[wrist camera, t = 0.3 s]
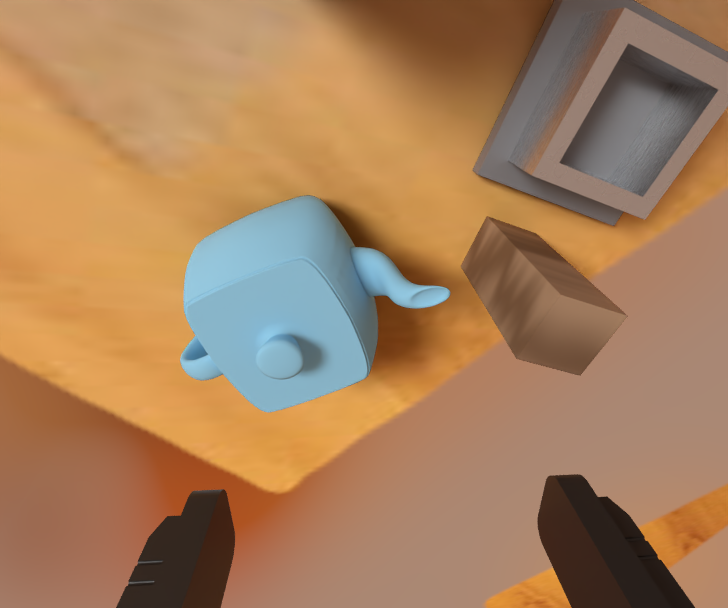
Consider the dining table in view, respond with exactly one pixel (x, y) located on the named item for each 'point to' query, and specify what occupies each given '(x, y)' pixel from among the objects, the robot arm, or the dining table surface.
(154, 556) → the robot arm
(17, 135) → the dining table surface
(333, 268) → the teapot
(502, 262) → the long tan beam
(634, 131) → the dock
